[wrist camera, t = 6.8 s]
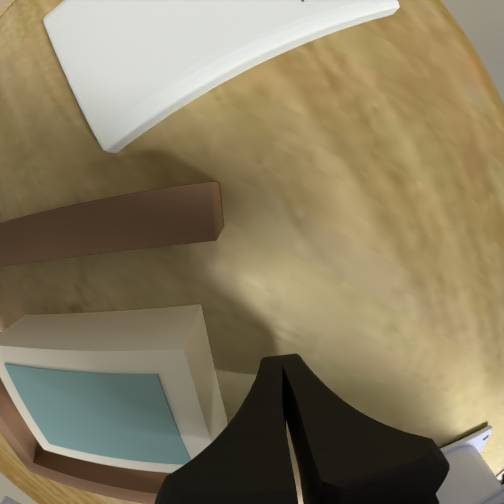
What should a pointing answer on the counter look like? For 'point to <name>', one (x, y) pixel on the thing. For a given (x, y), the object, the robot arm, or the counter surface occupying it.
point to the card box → (116, 385)
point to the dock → (95, 242)
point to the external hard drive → (178, 50)
